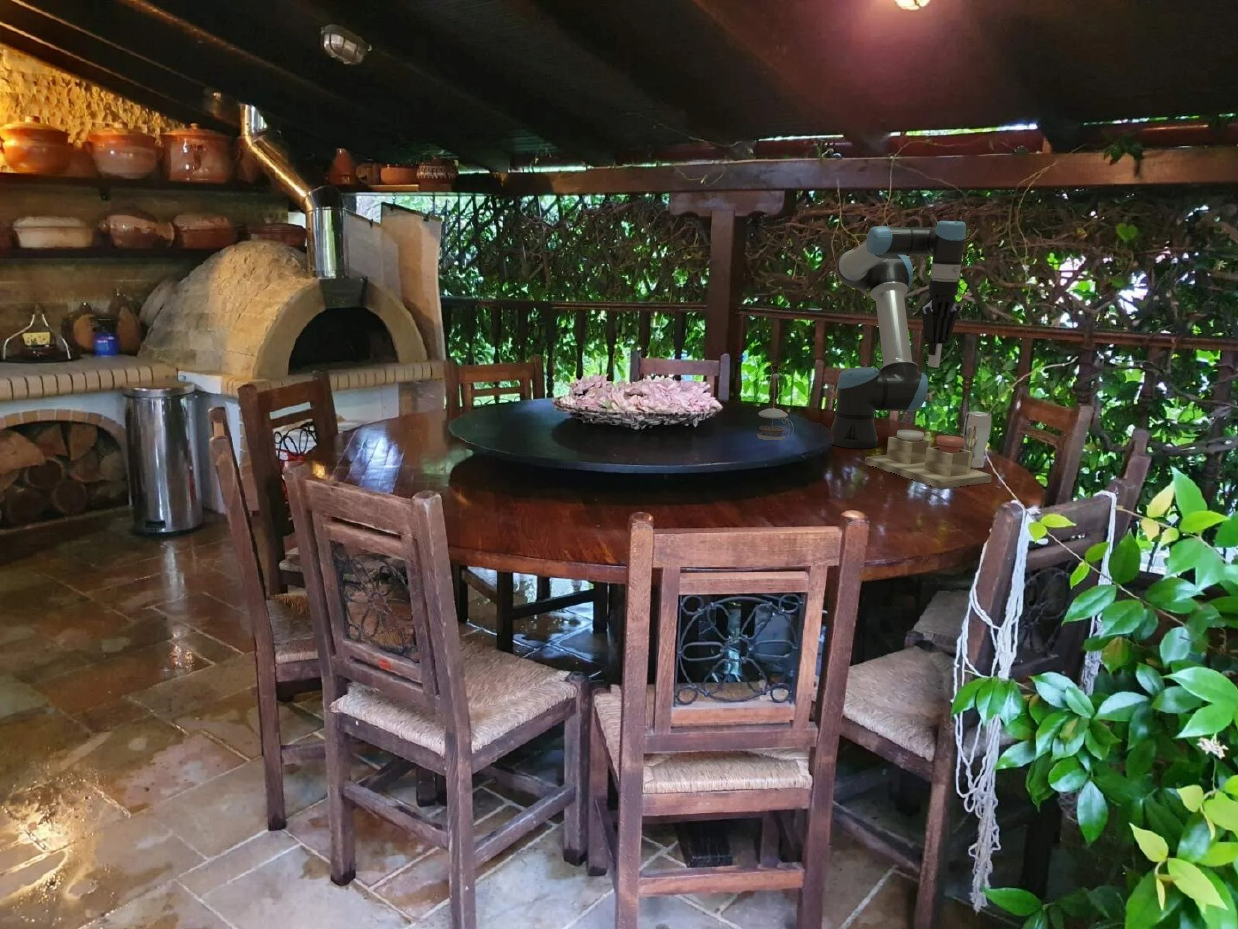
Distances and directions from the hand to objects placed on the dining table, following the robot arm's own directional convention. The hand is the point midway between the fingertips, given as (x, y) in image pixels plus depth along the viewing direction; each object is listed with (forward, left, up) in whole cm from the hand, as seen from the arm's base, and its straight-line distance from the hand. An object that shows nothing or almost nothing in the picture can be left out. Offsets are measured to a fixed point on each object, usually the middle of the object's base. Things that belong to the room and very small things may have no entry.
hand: (933, 366), depth 245 cm
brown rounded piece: (+16, -8, -23) cm, 30 cm away
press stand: (+9, -8, -27) cm, 30 cm away
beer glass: (+8, +11, -28) cm, 31 cm away
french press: (-17, -40, -28) cm, 52 cm away
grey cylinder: (+2, -8, -25) cm, 26 cm away
